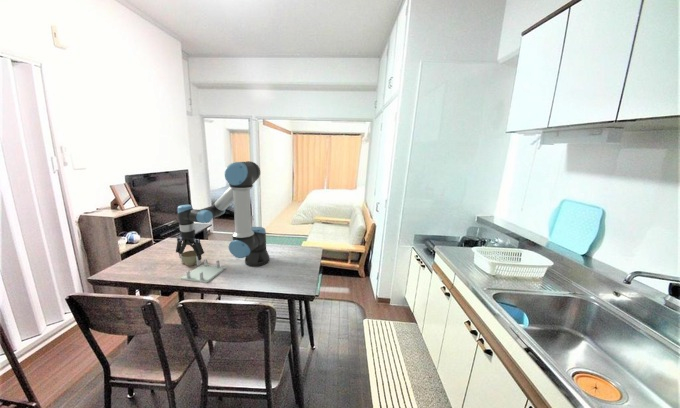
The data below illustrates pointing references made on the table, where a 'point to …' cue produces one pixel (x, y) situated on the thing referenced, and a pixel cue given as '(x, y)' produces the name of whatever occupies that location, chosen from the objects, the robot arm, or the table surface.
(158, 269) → the table surface
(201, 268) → the tray
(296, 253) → the table surface
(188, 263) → the tan round bowl
